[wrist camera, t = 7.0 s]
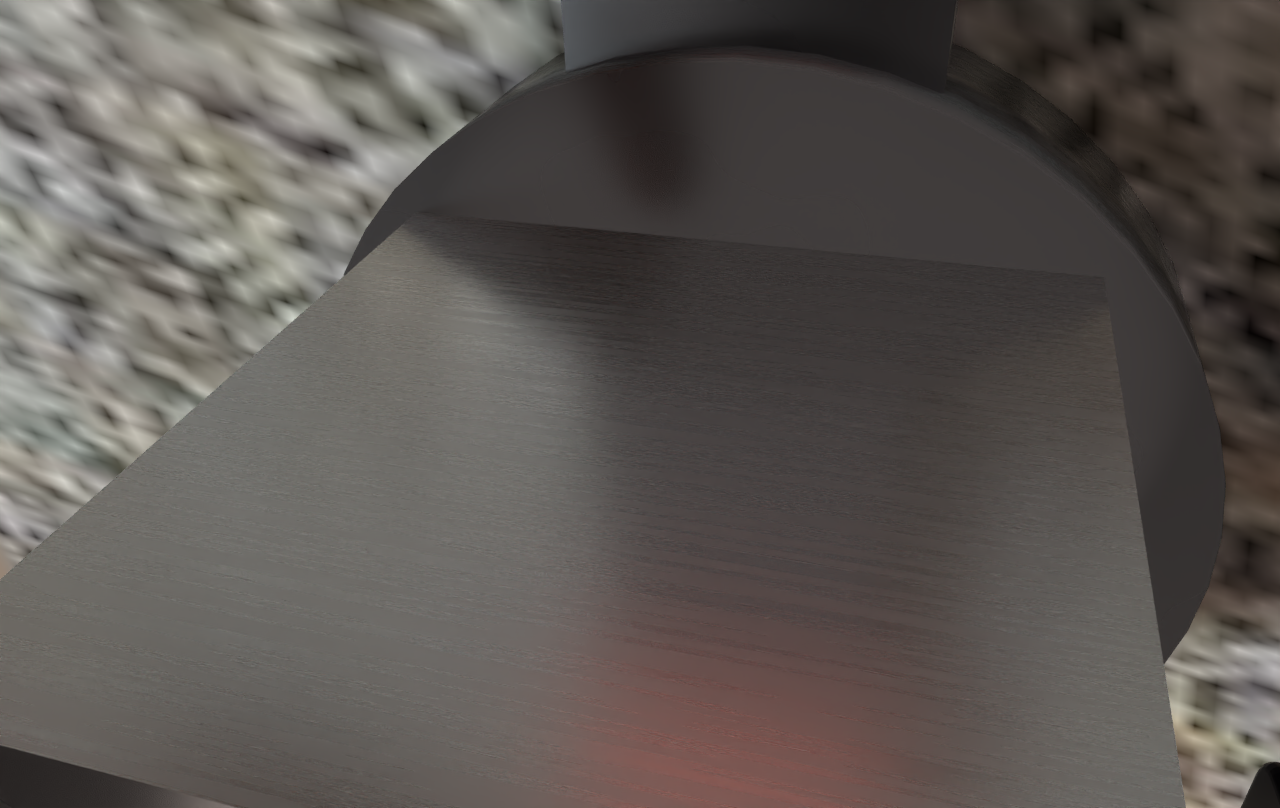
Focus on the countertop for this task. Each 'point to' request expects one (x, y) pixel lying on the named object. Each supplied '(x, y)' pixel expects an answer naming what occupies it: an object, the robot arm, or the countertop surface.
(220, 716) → the brushed metal cube
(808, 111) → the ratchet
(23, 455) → the countertop surface
